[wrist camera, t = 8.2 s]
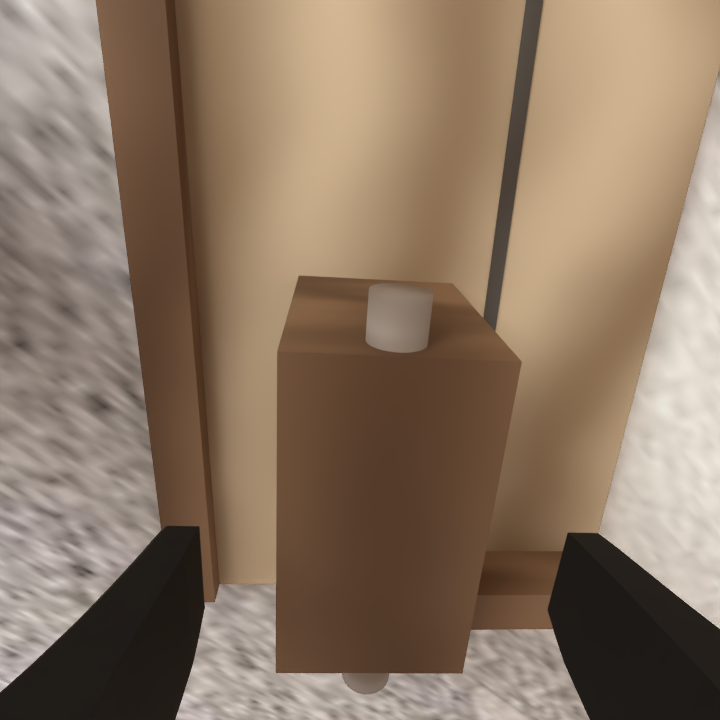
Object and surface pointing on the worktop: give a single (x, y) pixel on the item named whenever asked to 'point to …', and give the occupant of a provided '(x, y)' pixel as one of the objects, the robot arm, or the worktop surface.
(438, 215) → the board
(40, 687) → the robot arm
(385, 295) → the block with white pegs
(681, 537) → the worktop surface
